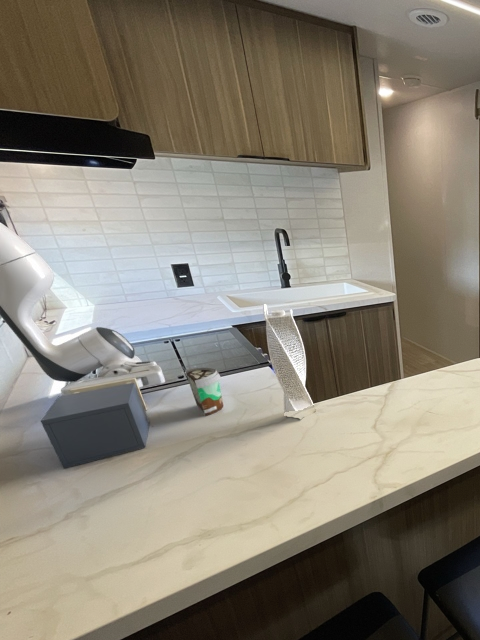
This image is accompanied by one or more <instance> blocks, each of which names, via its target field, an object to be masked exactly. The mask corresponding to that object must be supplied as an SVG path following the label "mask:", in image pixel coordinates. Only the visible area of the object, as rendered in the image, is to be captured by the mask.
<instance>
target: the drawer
mask: <svg viewBox="0 0 480 640" xmlns="http://www.w3.org/2000/svg"><path fill="white" fill-rule="evenodd" d="M129 383H135V385H136V388H137V391H138V393H139V396H140V399H141V401H142V404H143V407H144V409H145V412H147V410H148V408H147V405H146V403H145V399H144V397H143V394H142V392H141V388H140V389H139V386H138V383H137V381H136V378H130V379H125V380H119V381H113V382H108V383H102V384H97V385H91V386H85V387H80V388H74V389H71V390H70V392H71V394H75V393H80V392H86V391H91V390H96V389H102V388H107V387H113V386H118V385H124V384H129Z"/></svg>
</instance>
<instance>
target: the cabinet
mask: <svg viewBox="0 0 480 640" xmlns="http://www.w3.org/2000/svg"><path fill="white" fill-rule="evenodd" d="M146 412H147V411H145V409H144V407H143V404H142V401H141V399H140V396H139V393H138V391H137V388H136V385H135V383H129V384H124V385H118V386H113V387H107V388H102V389H96V390H91V391H86V392H80V393H75V394H69V395H64V396H63V395H59V396H57V398H56V399H55V401H54V402H52V404H51V406H50V407H49V408H48V410H47V412H46V413H45V414H44V415H43V416H42V418H41V419H40V423H41V425H42V427H43V429H44V432H45V433H46V435H47V438H48V440H49V442H50V445H51V446H52V448H53V450H54V453H55V454H56V456H57V458H58V460H59V462H60V465H61V466H62V469H67V468H71V467H75V466H79V465H84V464H87V463H91V462H95V461H99V460H103V459H107V458H110V457H114V456H115V457H116V456H119V455H122V454H127V453H130V452H134V451H138V450H141V449H142V450H143V449H146V447H147V442H148V441H147V440H148V435H149V427H150V420H149V418H148V415H147V413H146Z"/></svg>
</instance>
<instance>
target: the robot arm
mask: <svg viewBox="0 0 480 640" xmlns="http://www.w3.org/2000/svg"><path fill="white" fill-rule="evenodd" d="M54 281H55V274H54V271H53V269H52V268H51V267H50V265H49V264H48V263H47V261H45V259H44V258H43V257H42V256H41V255H40V254H39V253H38V252H37V251H36V250H35V249H34V248H33V247H32V246H31V245H29V244H28V242H26V241H25V240H24V239H23V238H21V237H20V236H19V235H18V234H17V233H15V232H14V231H13V230H11V228H9V227H8V226H6V225H5V224H3V223H2V222H1V221H0V317H1V318H2V320H3V321H4V322H5V324H6V325H7V326H8V327H9V328H10V329H11V331H12V332H13V333H14V334H15V336H16V337H17V338H18V339H19V340H20V341H21V343H22V344H23V345H24V347H25V348H26V349H27V350H28V352H30V354H31V355H32V356H33V358H34V360H35V361H36V363H37V364H38V365H39V367H40V368H41V370H42V371H43V373H44V374H46V375H47V376H48V377H49V378H50V379H52V380H54V381H58V382H65V383H67V382H68V384H66V385H64V386H63V387H62V388H60V393H61V396H64V395H69V394H71V392H70V390H71V389H74V388H80V387H85V386H91V385H97V384H102V383H108V382H113V381H119V380H125V379H130V378H136V381H137V383H138V386H139V389H140V390H141V389H142V388H143V389H144V388H147V387H152V386H153V387H154V386H158V385H162V384H165V383H166V378H165V375H164V372H163V370H162V368H161V366H160V365H158V364H157V362H156V361H154V360H152V361H142V359H140V358H139V357H138V356H137V355H135V352H136V351H135V348H134V346H133V344H132V343H131V342H130V341H129V340H128V339H127V338H126V337H125V336H124V335H122V334H121V333H120V332H118V331H117V330H114V329H112V328H108V327H103V326H102V327H101V326H98V327H94V328H92V329H89V330H88V331H86V332H84V333H82V334H79V335H78V336H76V337H74V338H71V339H69V340H67V341H64V342H62V343H60V344H58V345H55V344H53V343H51V341H50V340H49V338H47V336H46V335H45V333H44V332H43V331H42V330H41V328H40V327H39V326H38V325H37V323H36V322H35V321H34V319H33V317H32V311H33V308H34V307H35V305H36V304H37V303H38V302H39V301H40V300H41V299H42V298H43V297H44V296H46V294H47V293H48V292H49V291H50V289H51V288H52V286H53V284H54ZM101 368H102V369H101ZM98 369H100V371H99V372H98V374H97V377H92V378H85V379H83V378H84V377H85V376H88V375H89V374H90V373H92V372H94V371H96V370H98Z"/></svg>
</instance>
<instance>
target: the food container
mask: <svg viewBox="0 0 480 640" xmlns="http://www.w3.org/2000/svg"><path fill="white" fill-rule="evenodd" d="M184 372H185V375H186V377H187V381H188V384H189V387H190V390H191V392H192V395H193V398H194V401H195V404H196V407H197V408H198V409H199V410H200V412H202V414H203V415H204V416H205V417H208V416H210V415H213V414H215V413H218V412H219V411H221V410H222V409H223V408H224V402H223V401H224V400H223V397H222V391H221V385H220V382H219V381H220V380H221V375H220V373H219V371H218V370H217V369H216V368H214V367H195V368H194V367H193V368H188V369H185V371H184Z"/></svg>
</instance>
